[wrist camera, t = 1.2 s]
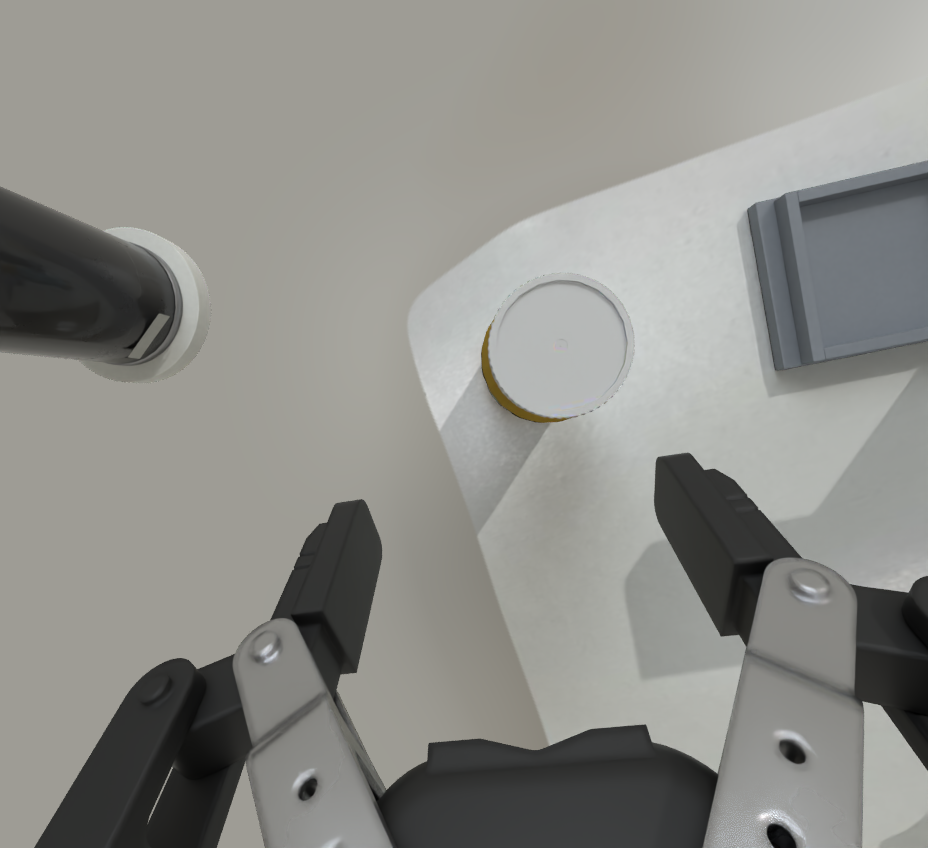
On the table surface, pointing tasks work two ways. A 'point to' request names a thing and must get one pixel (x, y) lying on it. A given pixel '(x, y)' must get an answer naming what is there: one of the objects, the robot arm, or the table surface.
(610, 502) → the table surface
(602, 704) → the table surface
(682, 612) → the table surface
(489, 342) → the bottle
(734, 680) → the table surface
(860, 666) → the robot arm
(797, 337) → the coffee maker
